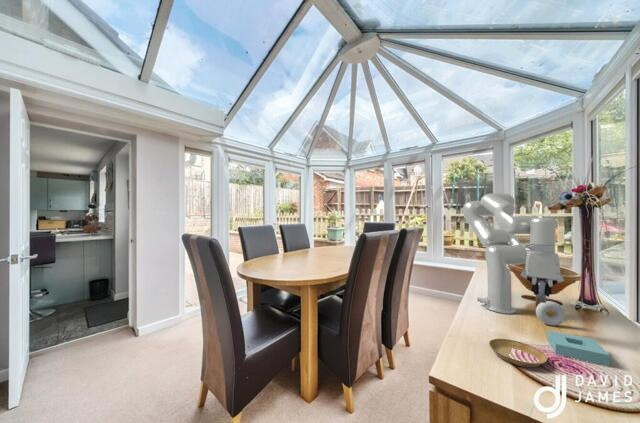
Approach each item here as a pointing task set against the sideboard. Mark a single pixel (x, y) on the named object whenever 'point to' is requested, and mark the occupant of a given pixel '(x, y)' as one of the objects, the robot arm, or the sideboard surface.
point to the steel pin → (541, 290)
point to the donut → (554, 320)
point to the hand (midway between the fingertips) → (541, 294)
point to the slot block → (578, 348)
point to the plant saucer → (505, 346)
